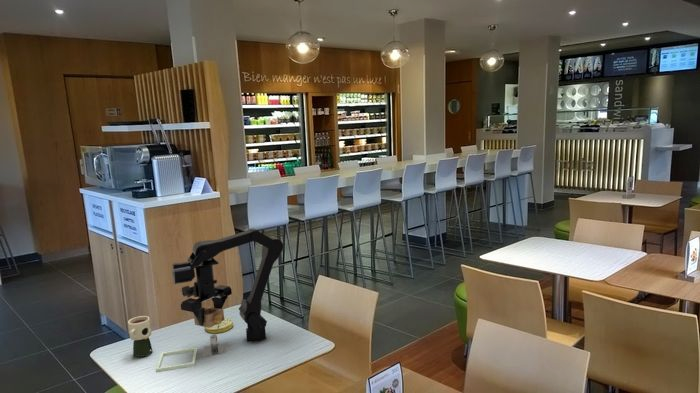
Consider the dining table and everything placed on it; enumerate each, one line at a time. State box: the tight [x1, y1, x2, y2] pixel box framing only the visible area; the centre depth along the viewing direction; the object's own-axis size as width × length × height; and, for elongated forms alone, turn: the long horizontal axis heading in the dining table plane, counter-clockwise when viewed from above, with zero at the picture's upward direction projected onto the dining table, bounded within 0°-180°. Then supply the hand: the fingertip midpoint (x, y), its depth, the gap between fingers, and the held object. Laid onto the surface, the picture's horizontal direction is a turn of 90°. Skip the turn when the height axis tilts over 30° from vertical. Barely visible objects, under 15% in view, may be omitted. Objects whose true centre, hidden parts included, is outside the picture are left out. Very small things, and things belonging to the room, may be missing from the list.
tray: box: [155, 346, 198, 373], centre depth 160 cm, size 12×12×2 cm
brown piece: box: [193, 306, 225, 328], centre depth 164 cm, size 7×8×4 cm
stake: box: [201, 334, 227, 358], centre depth 167 cm, size 8×8×6 cm
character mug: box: [127, 315, 153, 357], centre depth 167 cm, size 11×7×13 cm, turn 174°
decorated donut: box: [203, 317, 234, 335], centre depth 185 cm, size 10×11×4 cm
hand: (209, 321), depth 165 cm, fingers closed on brown piece, 7 cm apart
